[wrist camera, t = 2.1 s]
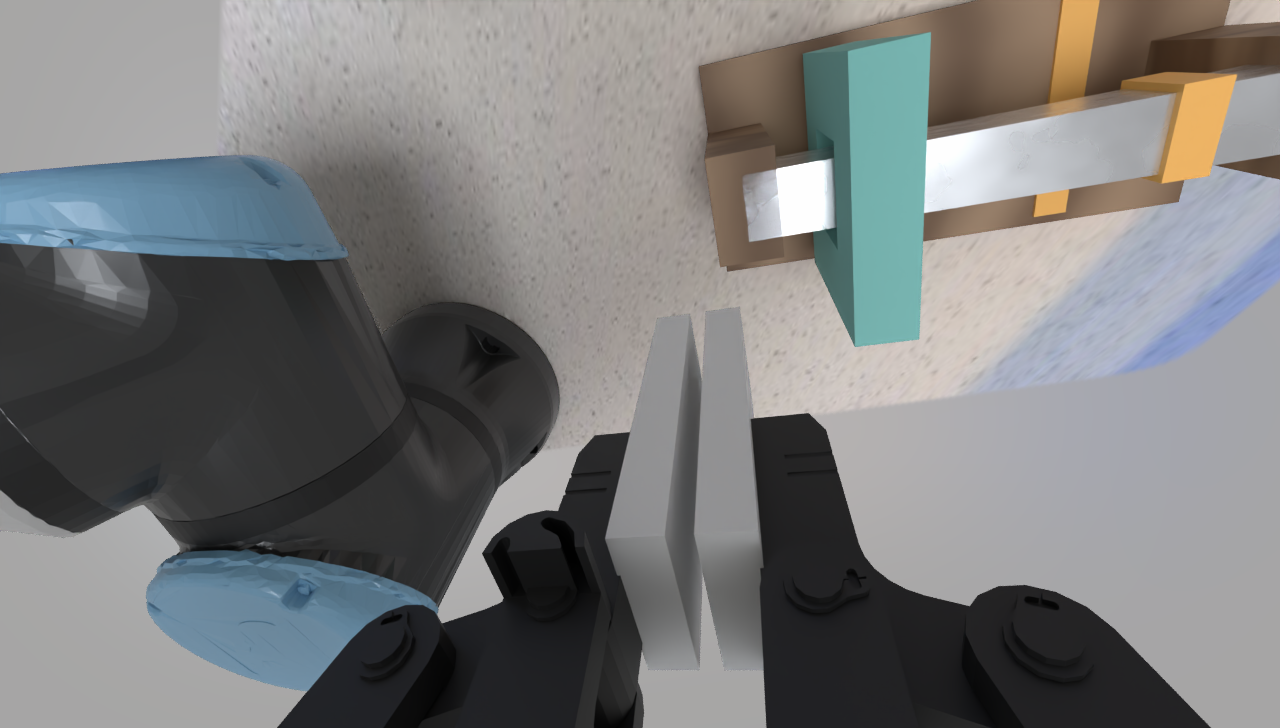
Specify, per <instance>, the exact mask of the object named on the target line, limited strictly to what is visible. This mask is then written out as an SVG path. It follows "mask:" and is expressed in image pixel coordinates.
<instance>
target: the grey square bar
mask: <svg viewBox="0 0 1280 728" xmlns="http://www.w3.org/2000/svg"><path fill="white" fill-rule="evenodd" d="M1208 73H1216V74H1237V77H1236V81H1235V85H1234V88H1233V92H1232V95H1231V99H1230V103H1229V106H1228V110H1227V114H1226V117H1225V121H1224V124H1223V128H1222V132H1221V135H1220V139H1219V142H1218V146H1217V150H1216V153H1215V157H1214V160H1213V164H1212V166H1213V165H1219V164H1225V163H1231V162H1237V161H1243V160H1249V159H1255V158H1261V157H1267V156H1274V155H1280V65H1244V66H1239V67H1234V68H1229V69H1224V70H1219V71H1213V72H1208ZM1176 95H1177V93H1174V92H1161V91H1148V90H1134V89H1121V90H1116V91H1111V92H1106V93H1101V94H1096V95H1091V96H1086V97H1081V98H1075V99H1070V100H1065V101H1060V102H1055V103H1050V104H1045V105H1040V106H1035V107H1029V108H1024V109H1019V110H1014V111H1009V112H1004V113H999V114H994V115H989V116H983V117H978V118H973V119H968V120H963V121H958V122H953V123H948V124H942V125H937V126H932V127H927V149H926V175H925V201H924V213H928V212H934V211H940V210H946V209H952V208H958V207H964V206H970V205H976V204H982V203H988V202H994V201H1000V200H1006V199H1012V198H1019V197H1025V196H1031V195H1037V194H1043V193H1049V192H1055V191H1061V190H1067V189H1073V188H1079V187H1085V186H1091V185H1097V184H1104V183H1110V182H1116V181H1122V180H1128V179H1134V178H1140V177H1146V176H1152V175H1158V172H1159V168H1160V164H1161V159H1162V155H1163V151H1164V146H1165V142H1166V138H1167V134H1168V129H1169V125H1170V121H1171V116H1172V112H1173V108H1174V104H1175V99H1176ZM776 165H777V172H776V171H775V170H776V169H775V170H774V171H773V170H772V171H768V172H771V173H772V172H775V173H776V174H777V176H776V174H775V173H772V175H774V174H775V175H774V177H775V176H776V177H777V178H776V179H778V181H777V180H776V181H774V183H773V181H772V180H774V179H775V178H774V179H772V180H771V184H770V182H769V181H768V182H769V184H768V185H769V186H768V185H767V184H765V182H763V181H762V180H766V182H767V179H769V176H768V178H767V177H766V178H767V179H765V178H764V174H765V173H764V172H763V173H762V174H763V179H761V180H760V179H759V178H760V176H761V175H760V176H759V178H757V177H756V178H757V179H758V180H759V182H760V181H761V182H763V184H765V185H767V188H766V186H764V187H762V186H763V185H762V186H759V185H758V184H760V185H761V182H760V183H759V182H758V184H757V185H758V186H757V185H756V183H755V182H754V181H753V182H752V183H751V186H752V187H753V186H754V184H755V188H754V189H753V188H752V190H751V191H753V190H754V191H753V194H751V193H750V192H751V191H750V192H749V190H747V191H746V190H745V192H746V193H745V194H744V198H745V195H746V198H745V201H746V199H747V198H749V199H750V198H752V197H753V198H752V199H753V200H754V201H756V200H760V201H762V202H761V203H759V201H758V202H757V201H756V203H752V202H753V200H752V199H750V200H751V201H750V200H749V199H747V200H748V201H750V202H751V203H750V202H749V203H750V204H751V205H749V204H747V202H748V201H746V202H745V204H746V206H745V207H746V211H747V209H748V208H749V206H751V211H750V208H749V211H747V212H748V213H747V215H746V216H748V219H747V220H748V221H749V222H748V223H750V221H751V224H748V229H749V230H750V231H749V230H748V233H749V232H750V233H749V235H750V234H751V232H752V230H753V228H752V227H751V226H752V222H753V224H754V223H755V224H756V223H757V224H756V226H755V224H754V225H753V226H754V229H755V230H757V231H758V233H759V234H756V233H757V232H756V231H754V230H753V232H752V234H753V235H754V236H753V237H752V234H751V237H752V238H753V239H754V240H753V239H752V240H751V237H749V242H750V240H751V241H758V239H759V240H760V239H761V240H762V239H763V240H764V236H763V235H764V232H762V231H765V233H766V234H765V239H767V237H768V239H770V238H772V235H773V238H774V237H775V238H776V235H777V237H779V235H780V237H782V236H788V235H794V234H800V233H806V232H812V231H818V230H824V229H830V228H836V227H837V215H836V188H835V162H834V146H830V147H825V148H820V149H815V150H810V151H804V152H799V153H794V154H789V155H784V156H779V157H776ZM755 174H756V173H755ZM757 174H758V173H757ZM757 174H756V175H757ZM760 174H761V173H760ZM769 174H770V173H769ZM769 174H767V173H766V174H765V176H767V175H769ZM750 175H753V176H754V174H750ZM758 175H759V174H758ZM745 176H746V175H745ZM748 178H749V177H748ZM753 178H754V177H753ZM761 178H762V177H761ZM770 178H773V177H772V176H771V175H770ZM757 179H756V180H757ZM749 180H750V179H749ZM742 181H743V180H742ZM744 181H745V179H744ZM745 182H747V181H745ZM756 182H757V181H756ZM753 183H754V184H753ZM776 183H777V184H778V185H777V184H776ZM749 184H750V183H749ZM774 184H776V185H777V186H778V187H777V186H776V185H775V186H772V185H774ZM770 185H771V186H772V187H773V189H771V188H772V187H771V186H770ZM747 186H748V183H747ZM747 186H746V184H745V189H746V187H747ZM756 186H757V187H756ZM759 187H762V188H763V189H764V188H766V190H768V192H767V191H766V190H765V189H764V190H765V192H762V191H761V190H763V189H760V188H759ZM770 187H771V188H770ZM775 187H777V188H776V189H778V190H779V191H777V190H776V192H778V193H777V194H776V193H775V191H773V190H775ZM749 188H750V187H749ZM768 188H769V189H770V190H772V191H773V192H774V193H773V192H772V191H769V189H768ZM743 189H744V186H743ZM756 189H757V190H758V189H760V191H761V193H760V191H758V192H757V191H756V195H754V194H755V190H756ZM764 190H763V191H764ZM747 192H749V193H750V194H751V196H750V195H749V194H747ZM769 192H771V193H772V194H774V195H775V197H774V195H772V194H771V193H769ZM759 193H760V194H761V195H762V196H761V195H760V194H759ZM762 193H763V194H764V196H768V197H769V196H771V198H770V199H769V198H767V197H766V198H767V199H766V198H765V197H764V198H763V199H764V200H767V201H768V200H769V202H770V201H771V202H772V203H770V204H771V205H769V204H768V203H769V202H767V201H765V202H764V200H763V199H762V200H761V199H757V198H759V197H763V194H762ZM765 193H766V195H765ZM757 194H759V197H758V195H757ZM767 194H768V195H767ZM776 195H777V197H778V198H777V197H776ZM747 196H748V197H747ZM756 196H757V198H756ZM754 197H755V198H756V200H755V198H754ZM773 198H774V199H773ZM776 198H777V199H776ZM771 199H773V201H774V204H775V208H774V207H773V212H774V210H776V213H775V212H774V213H775V214H773V215H775V216H776V215H777V216H776V217H777V218H778V219H777V218H773V217H775V216H773V215H769V214H770V213H771V214H772V209H771V208H769V207H772V205H774V204H773V201H772V200H771ZM778 199H779V200H780V201H779V203H780V206H779V203H778ZM775 201H777V202H776V203H777V204H776V203H775ZM766 202H767V204H766ZM757 203H758V204H759V206H760V207H761V209H759V207H758V205H757ZM762 203H763V204H764V203H765V204H766V205H765V204H764V205H765V207H766V208H765V207H764V205H762ZM752 204H753V205H752ZM754 204H756V205H755V207H757V208H754ZM747 205H748V208H747ZM767 205H769V206H768V208H767ZM762 206H763V207H762ZM776 206H778V207H779V208H778V207H777V208H778V210H777V209H776ZM752 208H753V209H752ZM755 209H756V213H757V212H758V213H761V210H762V212H766V213H768V214H767V215H766V213H764V214H765V215H764V214H762V213H761V214H760V216H759V214H757V219H758V221H756V222H754V221H755V220H757V219H755V216H756V213H754V211H755ZM758 209H759V210H760V212H759V211H758ZM763 209H764V210H763ZM765 209H768V210H769V209H771V210H769V211H765ZM779 209H780V211H779ZM752 211H753V212H752ZM750 212H752V213H750ZM777 212H778V214H777ZM749 213H750V214H754V215H755V216H754V215H752V216H750V214H749ZM779 214H780V215H779ZM762 215H763V218H764V216H765V220H764V219H763V220H764V223H765V224H764V223H763V222H762V221H763V220H762V217H761V216H762ZM749 216H750V217H749ZM753 216H754V217H753ZM767 216H768V217H769V216H772V217H770V218H768V217H767ZM779 216H780V217H779ZM751 217H752V219H753V218H754V219H753V220H749V218H750V219H751ZM766 217H767V218H768V219H766ZM760 218H761V219H760ZM771 218H772V219H771ZM759 220H760V221H761V222H760V221H759ZM767 220H770V223H773V224H771V225H770V223H769V221H767ZM772 220H773V221H772ZM779 220H780V221H781V222H779V223H780V224H782V225H780V224H778V221H779ZM776 221H777V224H776V223H775V222H776ZM759 223H761V225H763V224H764V225H763V226H765V229H764V228H763V226H761V225H760V224H759ZM774 223H775V225H776V226H775V225H774ZM766 224H768V225H769V226H770V227H771V228H770V227H769V228H768V225H766ZM750 225H751V226H750ZM758 225H759V226H760V227H762V228H760V227H759V229H757V228H758ZM772 225H773V227H774V228H773V227H772ZM749 226H750V227H751V229H750V227H749ZM755 227H757V228H755ZM775 227H776V228H775ZM778 227H779V229H778ZM766 228H768V229H769V230H766ZM770 229H771V231H770ZM773 229H774V230H773ZM776 230H777V232H775V231H776ZM779 230H781V231H782V232H781V231H779ZM759 231H760V232H759ZM766 231H767V232H766ZM773 232H774V233H775V234H774V233H773ZM778 232H779V234H778ZM761 233H762V234H763V235H762V234H761ZM772 233H773V234H772ZM776 233H777V234H776ZM781 233H782V234H781ZM767 234H771V235H768V236H767ZM757 235H759V238H758V236H757ZM761 235H762V236H761ZM774 235H775V236H774ZM760 236H761V237H760ZM769 236H771V237H769ZM754 237H755V238H754Z"/></svg>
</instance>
